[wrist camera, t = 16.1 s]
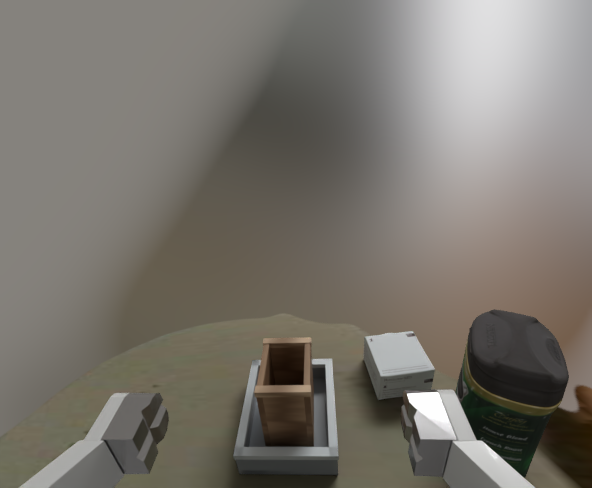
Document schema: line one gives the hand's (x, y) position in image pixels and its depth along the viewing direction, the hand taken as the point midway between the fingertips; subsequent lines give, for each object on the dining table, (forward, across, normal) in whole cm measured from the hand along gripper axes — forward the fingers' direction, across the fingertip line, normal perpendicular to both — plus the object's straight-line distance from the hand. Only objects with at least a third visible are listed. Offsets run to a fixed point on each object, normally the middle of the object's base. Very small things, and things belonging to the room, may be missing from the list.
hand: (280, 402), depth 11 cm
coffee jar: (+17, -20, +32) cm, 41 cm away
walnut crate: (+21, +3, +31) cm, 38 cm away
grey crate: (+21, +3, +32) cm, 38 cm away
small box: (+28, -12, +32) cm, 44 cm away
